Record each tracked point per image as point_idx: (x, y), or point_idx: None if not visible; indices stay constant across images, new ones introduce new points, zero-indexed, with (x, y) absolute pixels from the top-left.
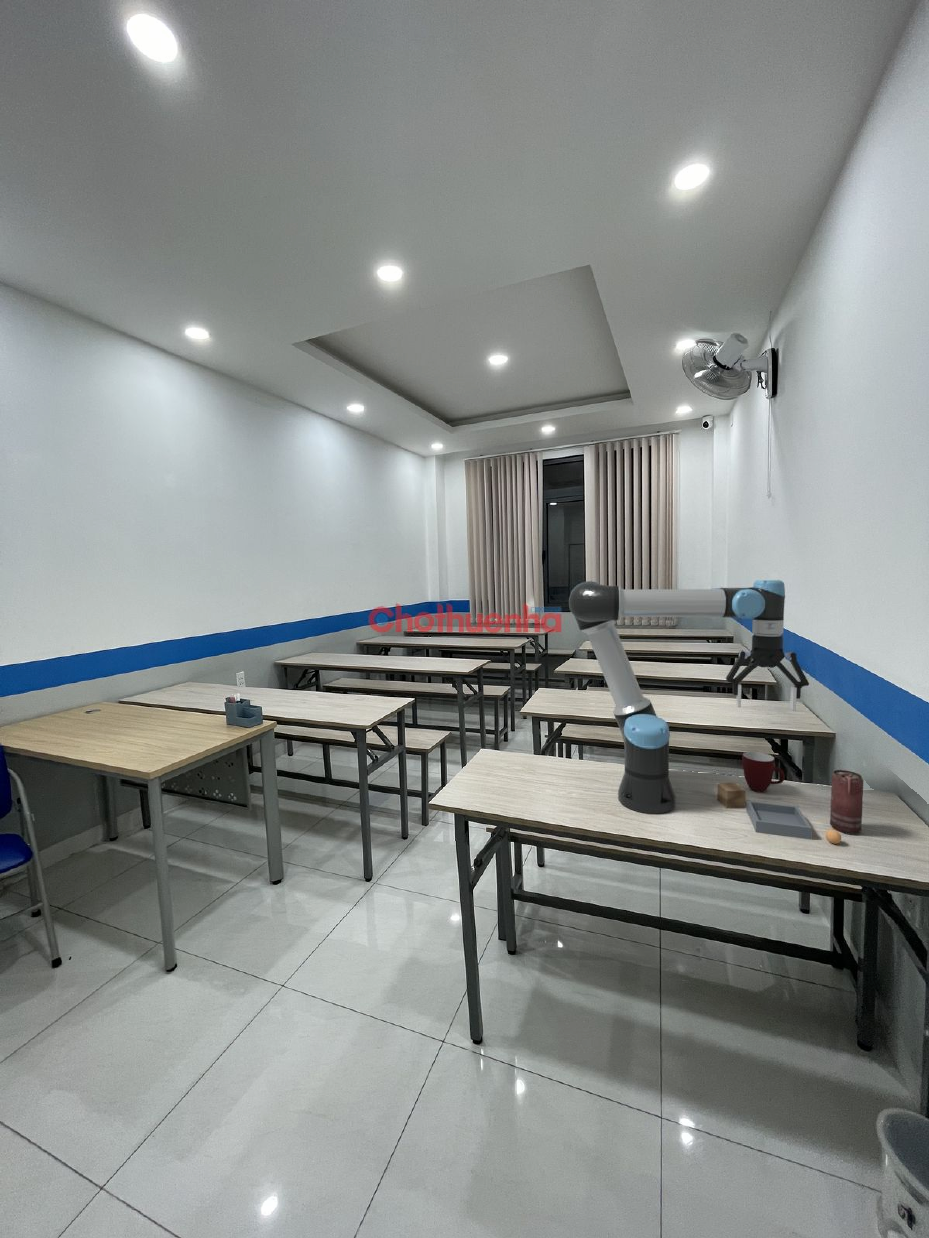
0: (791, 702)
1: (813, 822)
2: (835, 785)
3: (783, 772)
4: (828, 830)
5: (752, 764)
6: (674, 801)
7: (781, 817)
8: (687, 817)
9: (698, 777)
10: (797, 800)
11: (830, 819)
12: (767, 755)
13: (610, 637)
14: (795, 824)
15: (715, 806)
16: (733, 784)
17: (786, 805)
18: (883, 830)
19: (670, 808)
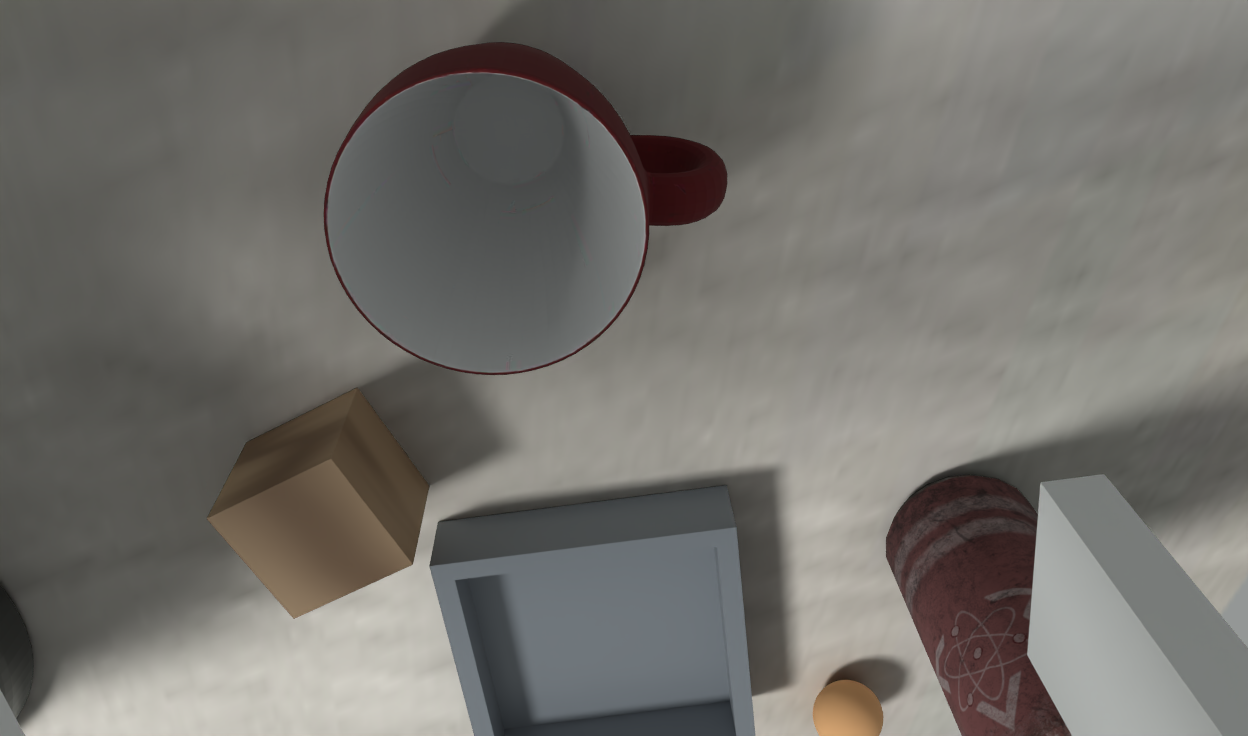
0: (1107, 689)
1: (803, 520)
2: None
3: (719, 197)
4: (833, 729)
5: (438, 342)
6: (12, 687)
7: (630, 578)
8: (138, 719)
9: (2, 46)
10: (781, 226)
11: (894, 560)
12: (588, 107)
13: None
14: (693, 627)
15: None
16: (321, 495)
17: (670, 542)
18: (1161, 468)
19: (20, 709)
